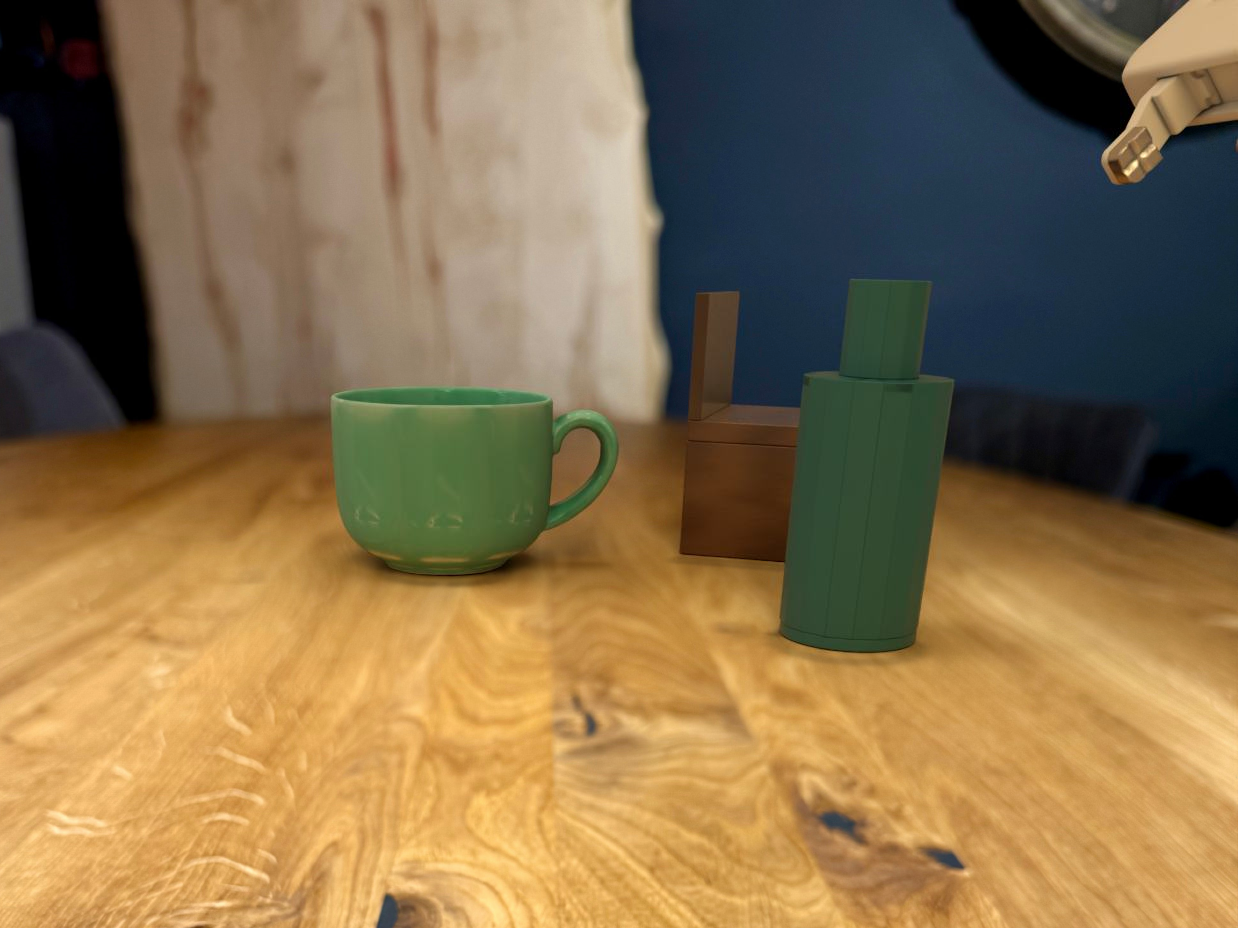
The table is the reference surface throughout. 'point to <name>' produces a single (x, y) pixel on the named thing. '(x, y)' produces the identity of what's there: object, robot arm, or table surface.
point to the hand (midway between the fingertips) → (1179, 166)
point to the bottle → (866, 479)
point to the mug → (455, 473)
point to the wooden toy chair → (733, 450)
